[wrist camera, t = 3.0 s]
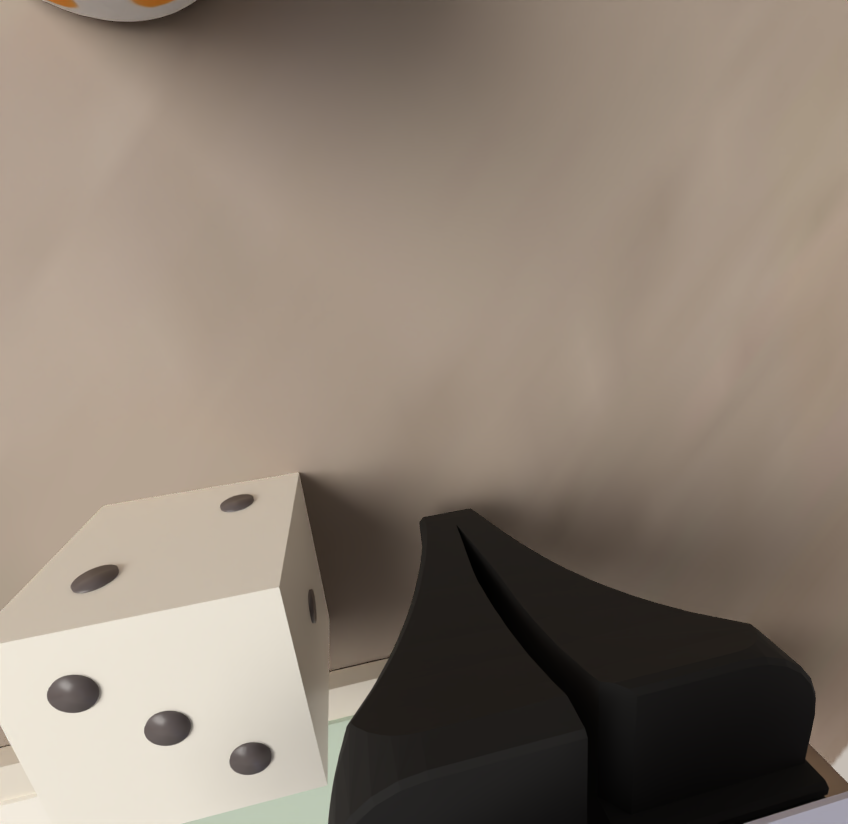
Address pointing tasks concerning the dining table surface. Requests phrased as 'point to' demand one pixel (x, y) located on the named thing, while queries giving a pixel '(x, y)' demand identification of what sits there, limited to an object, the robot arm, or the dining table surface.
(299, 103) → the dining table surface
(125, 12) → the pill bottle
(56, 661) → the die
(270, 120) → the dining table surface
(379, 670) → the board
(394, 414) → the dining table surface
